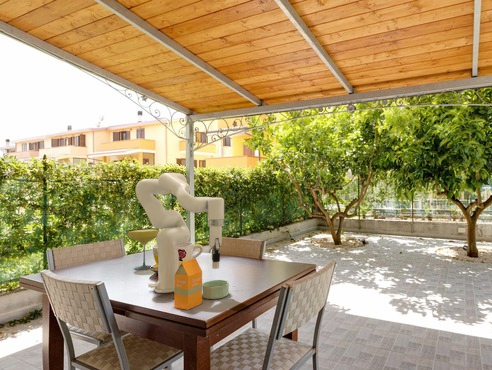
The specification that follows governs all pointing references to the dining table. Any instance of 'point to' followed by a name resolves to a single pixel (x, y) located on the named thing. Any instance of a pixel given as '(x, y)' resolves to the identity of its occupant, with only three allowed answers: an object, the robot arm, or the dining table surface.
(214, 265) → the vial
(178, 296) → the orange juice
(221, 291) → the bowl
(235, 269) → the dining table surface
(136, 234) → the cocktail glass
